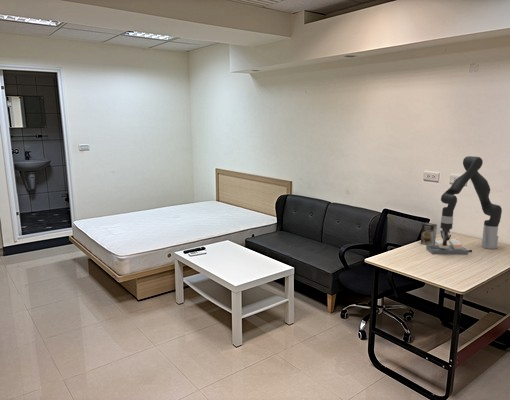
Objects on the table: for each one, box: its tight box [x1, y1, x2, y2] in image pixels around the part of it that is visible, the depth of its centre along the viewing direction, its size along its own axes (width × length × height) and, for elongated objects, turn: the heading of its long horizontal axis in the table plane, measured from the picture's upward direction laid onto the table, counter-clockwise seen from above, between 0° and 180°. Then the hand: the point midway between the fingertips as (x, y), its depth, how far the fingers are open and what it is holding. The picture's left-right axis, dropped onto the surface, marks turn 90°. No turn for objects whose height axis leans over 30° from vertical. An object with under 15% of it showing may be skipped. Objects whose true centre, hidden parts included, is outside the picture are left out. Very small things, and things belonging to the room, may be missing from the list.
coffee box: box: [420, 222, 438, 246], centre depth 299 cm, size 9×6×16 cm
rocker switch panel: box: [425, 244, 473, 256], centre depth 282 cm, size 30×12×4 cm, turn 86°
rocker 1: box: [435, 239, 450, 248], centre depth 282 cm, size 6×10×2 cm, turn 176°
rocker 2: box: [448, 238, 464, 249], centre depth 281 cm, size 6×10×2 cm, turn 176°
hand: (444, 245), depth 277 cm, fingers closed
